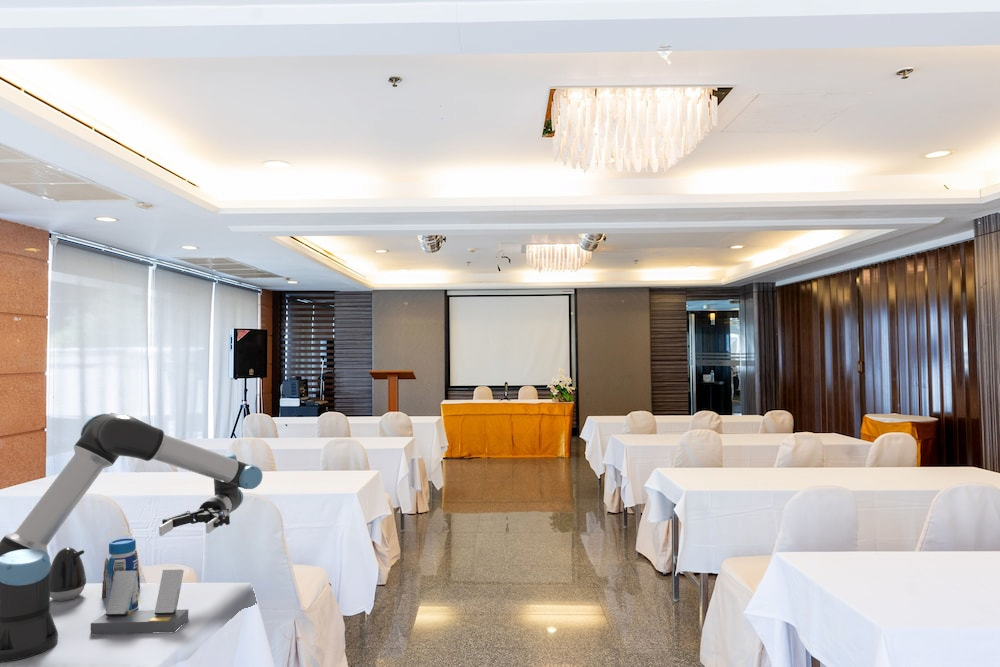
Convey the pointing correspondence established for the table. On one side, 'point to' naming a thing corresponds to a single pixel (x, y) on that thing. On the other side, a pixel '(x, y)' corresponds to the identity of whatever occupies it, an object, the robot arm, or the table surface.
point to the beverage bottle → (122, 566)
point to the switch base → (139, 622)
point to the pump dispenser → (67, 575)
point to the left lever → (121, 593)
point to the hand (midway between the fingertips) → (183, 530)
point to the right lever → (169, 592)
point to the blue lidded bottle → (105, 579)
